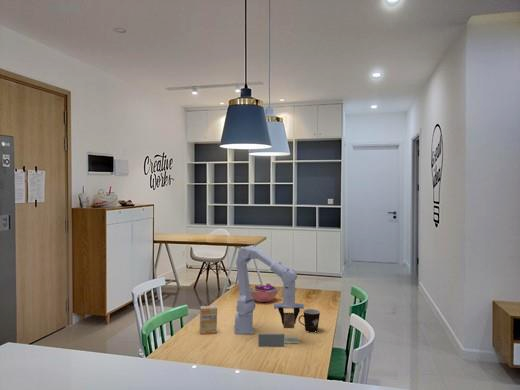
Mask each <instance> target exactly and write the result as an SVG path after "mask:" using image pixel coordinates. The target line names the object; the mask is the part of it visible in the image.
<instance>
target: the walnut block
mask: <svg viewBox="0 0 520 390" xmlns="http://www.w3.org/2000/svg"><path fill="white" fill-rule="evenodd" d="M294 317H295V316H294V312H284V324H282V327H283V329H295V324H294Z"/></svg>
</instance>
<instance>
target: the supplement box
mask: <svg viewBox="0 0 520 390" xmlns="http://www.w3.org/2000/svg"><path fill="white" fill-rule="evenodd" d="M199 307H200V308H199V333H200V335H208V334H217V332H218V331H217V328H218V307H217V305H201V306H199Z"/></svg>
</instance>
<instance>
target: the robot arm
mask: <svg viewBox="0 0 520 390" xmlns="http://www.w3.org/2000/svg"><path fill="white" fill-rule="evenodd" d="M255 259H256V260H258V261H260V262H262V263H263V264H265V265H267V266H268V267H269V268H270V271H271V272H273V273H274V274H275V275H276V276H278V277H279V278H280V279H281V281H282V284H283V286H282V287H283V289H282V291H283V292H282V295H283V296H282V302H280V303H273V309H274V310H276V309H277V310H278V312H279V316H280V318H281V323H282V325H283V324H284V313H285V309H293V313H294V316H295V317H294V325H296V321H297V318H298V316H299V314H300V312H301V310H305V305H304V303H296V280H297V279H298V274H297V272H296V271H295V270H294V269H293V268H292V269H291V268H290V267H288V266H285V264H282V263H283V262H282V261H278V260H276V261H274V260H273V258H271V257H270V256H268V255H267V254H266V253H265V252H263V251H262V250H261V249H260V248H259V247H257V246H256V245H254V244H251V245H247V246H243V247H240V249H239V250H238V251H237V257H236V260H235V264H236V273H237V275H236V276H237V281H238V282H237V283H238V284H237V285H238V293H239V297H238V299H237V300H236V302H237V303H236V304H237V305H236V307H235V308H236V309H235V310H236V312H237V313H235V314H234V325H233V329H234V334H236V335H237V334H241V335H242V334H243V335H253V334H254V327H253V326H254V323H253V322H254V321H253V320H254V318H253V317H254V311H255V310H256V303H255V300H254V299H253V297H252V296H251V295H250V288H251V287H250V283H249V282H250V279H249V272H248V271H249V270H248V264H249V262H251V260H255ZM300 309H301V310H300Z"/></svg>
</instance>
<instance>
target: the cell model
mask: <svg viewBox="0 0 520 390" xmlns="http://www.w3.org/2000/svg"><path fill="white" fill-rule="evenodd" d="M249 288H250V295H251V296H252V297H253V300H254V301H256V302H259V303H265V302H266V303H268V302H271V301H272V300H274V299H275V297H276V296H277V295H278V292H279V290H280V289H279V288H278V287H275V286H272V285H271V284H270V283H266V284H265V285H255V286H252V287H249Z"/></svg>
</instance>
